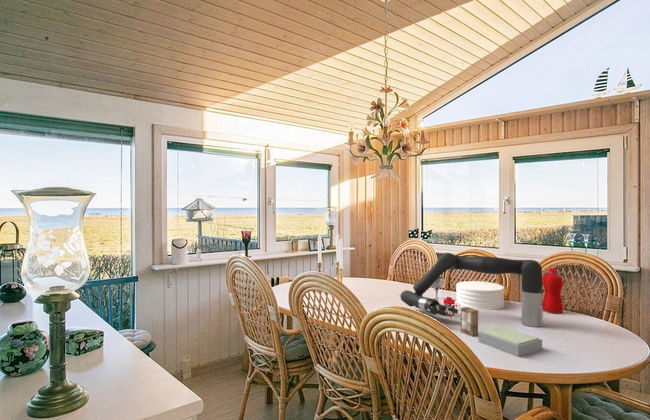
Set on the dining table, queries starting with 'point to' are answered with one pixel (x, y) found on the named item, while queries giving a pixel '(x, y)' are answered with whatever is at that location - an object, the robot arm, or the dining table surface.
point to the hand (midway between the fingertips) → (451, 312)
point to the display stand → (510, 341)
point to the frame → (469, 321)
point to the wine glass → (437, 285)
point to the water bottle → (552, 292)
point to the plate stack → (480, 295)
